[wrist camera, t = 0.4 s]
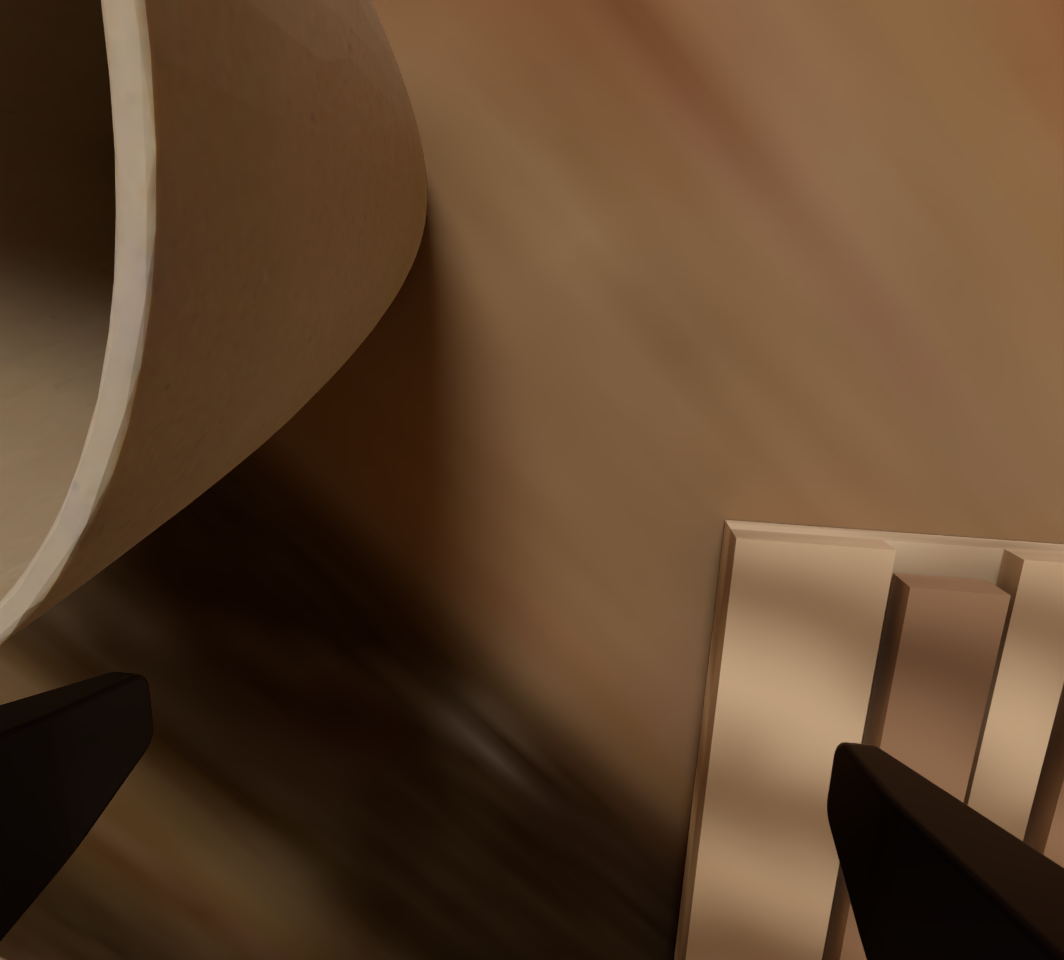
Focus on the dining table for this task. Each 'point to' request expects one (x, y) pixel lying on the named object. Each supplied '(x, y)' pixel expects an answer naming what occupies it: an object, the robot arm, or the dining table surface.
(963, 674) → the strip
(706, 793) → the lane board
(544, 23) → the dining table surface
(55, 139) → the plant pot
